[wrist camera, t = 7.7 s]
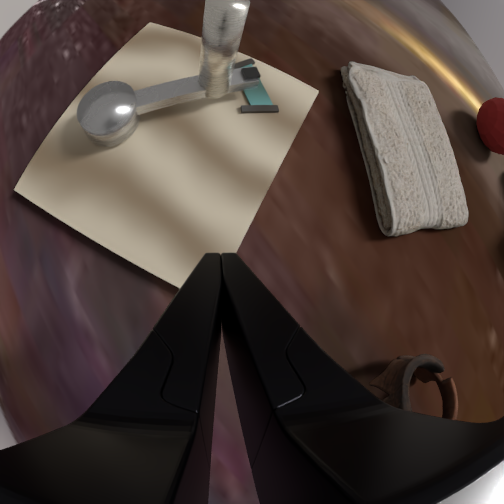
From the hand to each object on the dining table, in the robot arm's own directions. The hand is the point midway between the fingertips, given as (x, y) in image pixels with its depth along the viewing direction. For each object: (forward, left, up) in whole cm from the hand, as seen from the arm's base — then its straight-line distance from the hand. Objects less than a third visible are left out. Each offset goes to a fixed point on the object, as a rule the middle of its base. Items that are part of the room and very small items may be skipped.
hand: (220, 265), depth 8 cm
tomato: (+33, -24, -13) cm, 43 cm away
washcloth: (+20, -11, -13) cm, 26 cm away
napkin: (+9, +8, -12) cm, 17 cm away
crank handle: (+10, +9, -11) cm, 17 cm away
